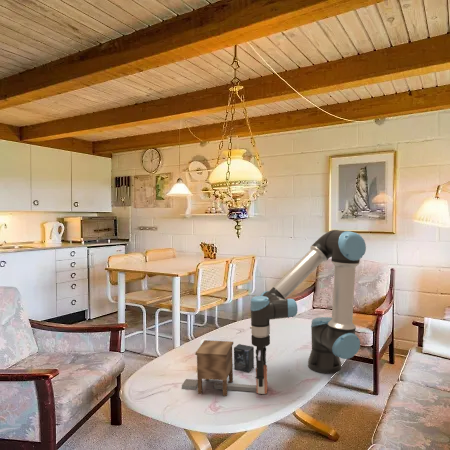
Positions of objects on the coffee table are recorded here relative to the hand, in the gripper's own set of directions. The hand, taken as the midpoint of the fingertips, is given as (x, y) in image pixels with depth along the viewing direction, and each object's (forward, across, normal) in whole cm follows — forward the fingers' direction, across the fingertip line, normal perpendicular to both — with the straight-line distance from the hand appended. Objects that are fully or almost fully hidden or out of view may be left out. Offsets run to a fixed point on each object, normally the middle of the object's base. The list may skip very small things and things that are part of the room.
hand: (262, 390), depth 161 cm
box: (+1, -21, -11) cm, 23 cm away
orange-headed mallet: (0, 0, -9) cm, 9 cm away
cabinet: (0, -1, -20) cm, 20 cm away
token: (+1, 0, -31) cm, 31 cm away
